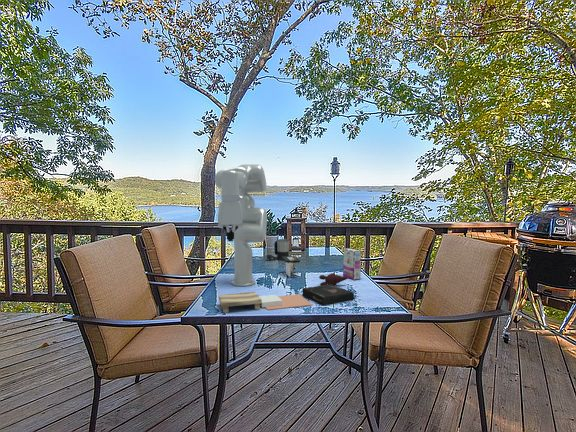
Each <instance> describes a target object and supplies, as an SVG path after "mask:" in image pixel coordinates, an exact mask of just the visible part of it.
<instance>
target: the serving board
mask: <svg viewBox="0 0 576 432" xmlns="http://www.w3.org/2000/svg"><path fill="white" fill-rule="evenodd" d="M217 298H218V300H219V305H220V306H221V307H222V313H223V314H224V313H225V314H226V313H229V307H235V306H237V307H239V306H247V305H253V306H254V307H253V308H254V310H260V309H261V306H260V303H262V300H261V298H260V297H259V295H258V294H257V292H256V291H249V292H237V293H236V292H235V293H225V294H218V296H217Z"/></svg>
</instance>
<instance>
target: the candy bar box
mask: <svg viewBox="0 0 576 432" xmlns="http://www.w3.org/2000/svg"><path fill="white" fill-rule="evenodd" d="M342 260H343V263H342V264H343V266H342V267H343V268H342V270H343V271H342V273H343V275H342V276H343V277H347V278H348V279H350V280H353V281H356V280H357V281H358V280H361V271H362V269H361V268H362V265H361V264H362V251H361V250H359V249H356V248H355V249H354V248H349V247H348V248H343V259H342Z"/></svg>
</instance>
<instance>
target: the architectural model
mask: <svg viewBox="0 0 576 432" xmlns="http://www.w3.org/2000/svg"><path fill="white" fill-rule="evenodd" d="M282 259H283V260H282V261H284V262H285V273H286V275H287V276H288V277H289V278H291V274H292V275H294V269H295V267H296V263H301V259H299V258H298V257H297V253H296V252H295V255H289V256H283V257H282Z"/></svg>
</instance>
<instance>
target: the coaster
mask: <svg viewBox="0 0 576 432" xmlns="http://www.w3.org/2000/svg"><path fill="white" fill-rule="evenodd" d="M258 296H259V295H258ZM278 296H279V295H277V294H270V295H260V296H259V297H260V298H261V300H262V303H260V308H265V307H270V306H279V305H283V300H281V299H280V298H279V297H278Z"/></svg>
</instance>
